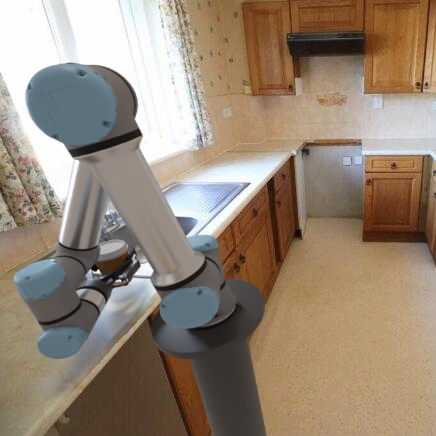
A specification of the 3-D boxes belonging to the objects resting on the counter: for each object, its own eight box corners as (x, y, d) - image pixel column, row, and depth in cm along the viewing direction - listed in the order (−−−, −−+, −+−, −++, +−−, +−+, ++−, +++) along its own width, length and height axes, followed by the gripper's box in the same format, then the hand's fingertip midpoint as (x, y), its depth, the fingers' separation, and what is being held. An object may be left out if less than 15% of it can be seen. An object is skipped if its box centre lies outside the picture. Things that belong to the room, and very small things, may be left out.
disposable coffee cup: (145, 273, 100) (134, 239, 95) (122, 292, 91) (109, 256, 86) (118, 271, 102) (106, 238, 97) (93, 290, 93) (79, 254, 88)
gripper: (44, 321, 77) (83, 270, 97) (140, 304, 82) (158, 258, 102) (31, 296, 74) (74, 248, 94) (131, 279, 78) (152, 237, 98)
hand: (118, 253), depth 98 cm, fingers closed on disposable coffee cup, 8 cm apart
